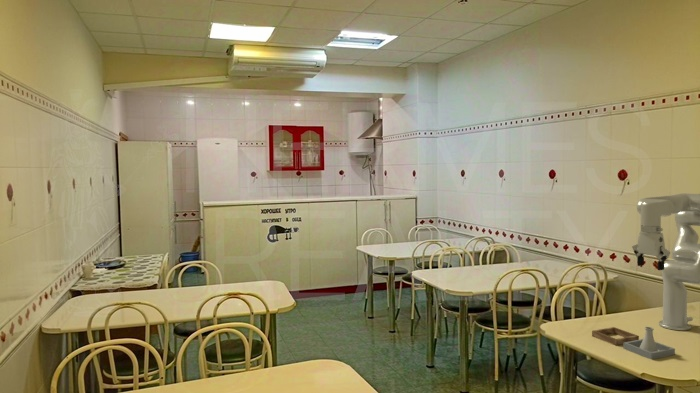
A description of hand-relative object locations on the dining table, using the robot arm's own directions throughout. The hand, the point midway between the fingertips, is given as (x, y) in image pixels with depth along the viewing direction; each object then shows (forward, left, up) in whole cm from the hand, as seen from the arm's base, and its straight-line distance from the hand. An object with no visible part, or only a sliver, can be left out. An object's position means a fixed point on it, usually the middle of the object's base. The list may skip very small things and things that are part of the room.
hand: (650, 267), depth 218 cm
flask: (+14, +11, -32) cm, 37 cm away
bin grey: (+14, +11, -32) cm, 36 cm away
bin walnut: (+14, -5, -32) cm, 35 cm away
